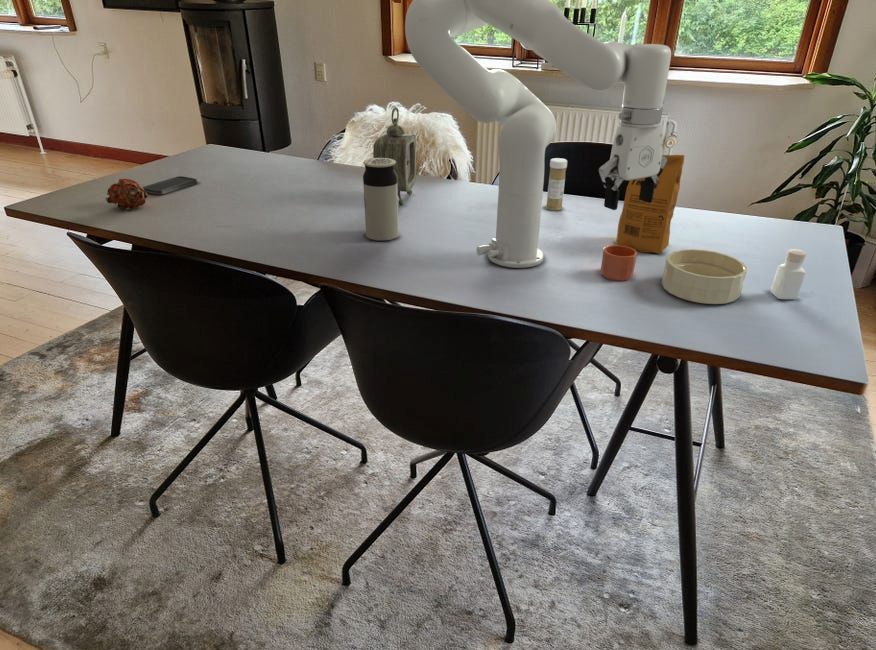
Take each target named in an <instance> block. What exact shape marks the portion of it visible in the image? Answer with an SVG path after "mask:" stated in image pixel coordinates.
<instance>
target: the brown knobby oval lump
mask: <svg viewBox="0 0 876 650" xmlns="http://www.w3.org/2000/svg"><path fill="white" fill-rule="evenodd" d="M142 187H143V186H141V184H139V183H138V181H135V180H134V179H132V178H118V181H117V183H112V184H111V185H110V186H109V188H108V189H107V192H106V196H107V197H105V200H106V202H107V203H108V204H114V205H117V207H118V208H119V209H120V210H123V211H124V210H127V209H130V210H138V209H139V208H140V206H144V205H145V204H146V200H147V198H148V197H149V195H148V193H146V191H145V190H144V189H143V188H142Z"/></svg>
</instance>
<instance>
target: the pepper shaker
mask: <svg viewBox="0 0 876 650" xmlns="http://www.w3.org/2000/svg"><path fill="white" fill-rule="evenodd" d="M806 256H807V252H806V251H804V250H801V249H795V248H791V249H788V250H787V253H786V257H785V261H784V263H781V264H779V265H778V266H777V267H776V268H777V269H776V271H775V275H774V278H773V282H772V285H771V288H770V293H771V294H773V295H774V296H775V297H776V298H777V299H779V300H796V299H798V298H799V294H800V291H801V288H802V286H803V285H802V284H803V282H804V279H805V276H806V270H805V268H803V264H804V262H805V258H806Z"/></svg>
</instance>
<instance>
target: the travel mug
mask: <svg viewBox="0 0 876 650" xmlns="http://www.w3.org/2000/svg"><path fill="white" fill-rule="evenodd" d="M362 162H363V163H362V164H363V165H364V168H365V170H364V172H363V175H362V184H363V186H362V187H363V204H364V221H365V223H364V224H365V236H366V237H367V238H368V239H369V240H373V241H377V242H384V241H385V242H386V241H393V240H394V239H396V238H397V237H399V235H400V234H399V232H400V231H399V197H398V189H397V174H396V172H395V170H394V166H395V164H396V161H395V160H393V159H389V158H373V157H371V158H367V159H364V160H363V161H362Z"/></svg>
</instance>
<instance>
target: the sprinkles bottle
mask: <svg viewBox="0 0 876 650" xmlns="http://www.w3.org/2000/svg"><path fill="white" fill-rule="evenodd" d="M567 168H568V160H567V159H566V158H560V157H555V158H554V157H553V158H551V159H550V160H549V176H548V186H547V195H546V197H547V198H546V205H545V208H546V209H547V210H550V211H561V210H562V209H563V199H564V193H565V182H566V171H567Z"/></svg>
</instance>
